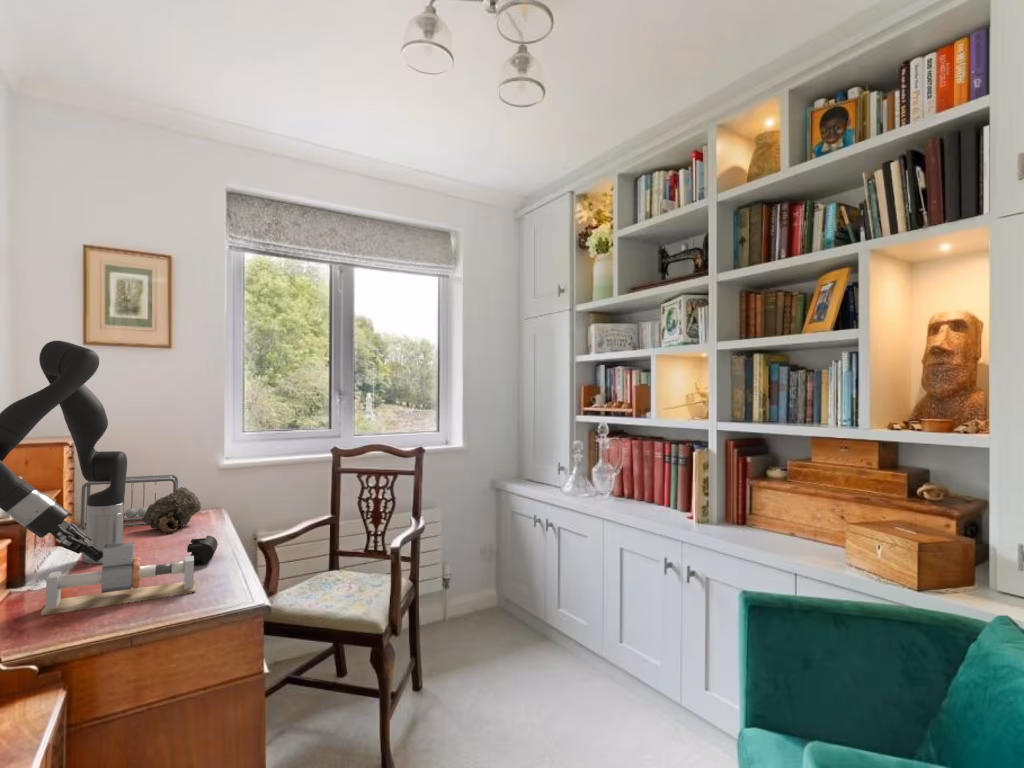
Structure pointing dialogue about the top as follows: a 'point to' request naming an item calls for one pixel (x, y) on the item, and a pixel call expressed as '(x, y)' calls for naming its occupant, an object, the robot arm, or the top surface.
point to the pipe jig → (60, 582)
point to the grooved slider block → (117, 567)
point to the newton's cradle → (131, 512)
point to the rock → (172, 510)
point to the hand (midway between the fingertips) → (101, 557)
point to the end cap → (202, 550)
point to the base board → (118, 597)
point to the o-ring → (136, 572)
